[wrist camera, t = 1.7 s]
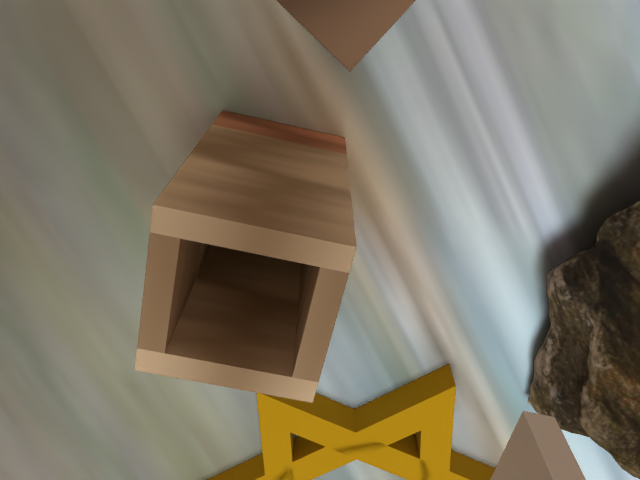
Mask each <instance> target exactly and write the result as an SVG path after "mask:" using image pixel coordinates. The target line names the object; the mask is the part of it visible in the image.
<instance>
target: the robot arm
mask: <svg viewBox="0 0 640 480" xmlns="http://www.w3.org/2000/svg"><path fill="white" fill-rule="evenodd" d="M490 480H586V479H585V477H584V475H583V473H582V471H581V469H580V467H579V465H578V463H577V461H576V459H575V457H574V455H573V453H572V451H571V449H570V447H569V445H568V443H567V441H566V439H565V437H564V435H563V433H562V431H561V429H560V427H559V425H558V423H557V421H556V419H555V417H551V416H546V415H541V414H536V413H531V412H526V411H523V412H522V414H521V416H520V418H519V420H518V423H517V425H516V427H515V429H514V431H513V433H512V435H511V437H510V439H509V441H508V443H507V446H506V448H505V450H504V452H503V454H502V456H501V458H500V460H499V462H498V464H497V466H496V469H495V471H494V473H493V475H492V477H491V479H490Z"/></svg>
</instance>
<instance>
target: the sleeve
mask: <svg viewBox="0 0 640 480" xmlns="http://www.w3.org/2000/svg"><path fill="white" fill-rule="evenodd" d="M355 250H356V239H355V230H354V220H353V211H352V202H351V192H350V183H349V173H348V164H347V155H346V145H345V138H344V137H339V136H335V135H330V134H326V133H321V132H317V131H312V130H308V129H304V128H299V127H295V126H290V125H286V124H281V123H277V122H272V121H268V120H264V119H259V118H255V117H250V116H246V115H241V114H237V113H232V112H228V111H224V110H222V112H221V113H220V114H219V116H218V117H217V119H216V120H215V121H214V123H213V124H212V125H211V127H210V128H209V129H208V131H207V132H206V133H205V135H204V136H203V138H202V139H201V140H200V142H199V143H198V144H197V146H196V147H195V148H194V150H193V151H192V152H191V154H190V155H189V157H188V158H187V159H186V161H185V162H184V163H183V165H182V166H181V167H180V169H179V170H178V172H177V173H176V174H175V176H174V177H173V178H172V180H171V181H170V182H169V184H168V185H167V186H166V188H165V189H164V191H163V192H162V193H161V195H160V196H159V197H158V199H157V200H156V201H155V203H154V204H153V210H152V219H151V228H150V237H149V246H148V255H147V264H146V273H145V282H144V291H143V300H142V309H141V318H140V328H139V337H138V346H137V355H136V364H135V370H137V371H143V372H148V373H154V374H159V375H164V376H170V377H175V378H181V379H186V380H192V381H197V382H202V383H208V384H213V385H219V386H224V387H229V388H235V389H240V390H246V391H251V392H257V393H262V394H267V395H273V396H278V397H284V398H289V399H294V400H300V401H305V402H311V403H313V400H314V396H315V393H316V389H317V386H318V382H319V378H320V375H321V371H322V368H323V364H324V361H325V357H326V353H327V350H328V346H329V343H330V339H331V336H332V332H333V329H334V325H335V321H336V318H337V314H338V311H339V307H340V304H341V300H342V296H343V293H344V289H345V286H346V282H347V279H348V275H349V272H350V268H351V264H352V261H353V257H354V254H355Z"/></svg>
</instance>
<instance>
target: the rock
mask: <svg viewBox="0 0 640 480" xmlns="http://www.w3.org/2000/svg"><path fill="white" fill-rule="evenodd" d="M547 294H548V299H549V318H550V320H551V327H550V329H549V331H548V334H547V336H546V338H545V340H544V342H543V344H542V346H541V347H540V349H539V351H538V353H537V356H536V359H535V361H534V379H533V382H532V384H531V386H530V396H529V398H528V403H529V404H530V405H532V407H533V408H534V410H535V411H536V412H537V413H539V414H541V415H546V416H551V417H555V419H556V421H557V423H558V425H559V427H560V429H562V430H565V431H568V432H570V433H576V434H580V435H583V436H587V437H590V438H591V439H592V440H593V441H594V442H595V443H597V444H598V445H599V446H600V447H602V448H604V449H605V450H606V451H608V452H609V453H610V454H611V455H612V456H613V458H614V459H615V461H616V462H617V463H618V464H619V466H620V467H621V468H622V469H623V470H625V471H626V472H628V473H629V474H631V475H632V476H634V477H636V478H638V479H640V201H638V202H635V203H634V204H632V205H631V206H629V207H627V208H625V209H623V210H621V211H619V212H617V213H615V214H613V215H611V216H610V217H609V218H607V219H606V220H605V222H604V223H603V225H602V226H601V227H600V229H599V231H598V233H597V243H596V244H595V245H594V246H592V247H590V248H587V249H585V250H583V251H581V252H579V253H578V254H576V255H574V256H572V257H571V258H569V259H567V260H566V261H564V262H563V263H561V264H560V265H558V266H557V267H555V268H554V269H552V270H550V272H549V274H548V276H547Z"/></svg>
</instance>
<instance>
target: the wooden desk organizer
mask: <svg viewBox="0 0 640 480" xmlns="http://www.w3.org/2000/svg"><path fill="white" fill-rule="evenodd" d="M277 1H278V2H279V3H280V4H281V5H282V6H283V7H284V8H285V9H286V10H287V11H288V12H289V13H290V14H291V15H292V16H293V17H294V18H295V19H296V20H297V21H298V22H299V23H300V24H301V25H302V26H303V27H305V28H306V29H307V30H308V31H309V32H310V33H311V34H312V35H313V36H314V37H315V38H316V39H317V40H318V41H319V42H320V43H321V44H322V45H323V46H324V47H325V48H326V49H327V50H328V51H329V52H330V53H331V54H332V55H333V56H334V57H335V58H336V59H337V60H339V61H340V62H341V63H342V64H343V65H344V66H345V67H346V68H347V69H348V70H349V71H351V70H352V69H353V68H354V67H355V66H356V65H357V63H358V62H359V61H360V60H361V59H362V58H363V57H364V56H365V55H366V54H367V53H368V51H369V50H370V49H371V48H372V47H373V46H374V45H375V44H376V43H377V42H378V41H379V40H380V38H381V37H382V36H383V35H384V34H385V33H386V32H387V31H388V30H389V29H390V28H391V26H392V25H393V24H394V23H395V22H396V21H397V20H398V19H399V18H400V17H401V16H402V15H403V13H404V12H405V11H406V10H407V9H408V8H409V7H410V6H411V5H412V4H413V3H414V2H415V0H277Z"/></svg>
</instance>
